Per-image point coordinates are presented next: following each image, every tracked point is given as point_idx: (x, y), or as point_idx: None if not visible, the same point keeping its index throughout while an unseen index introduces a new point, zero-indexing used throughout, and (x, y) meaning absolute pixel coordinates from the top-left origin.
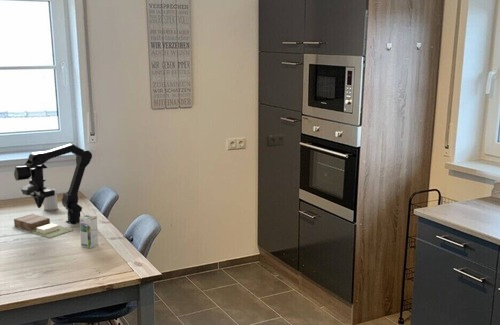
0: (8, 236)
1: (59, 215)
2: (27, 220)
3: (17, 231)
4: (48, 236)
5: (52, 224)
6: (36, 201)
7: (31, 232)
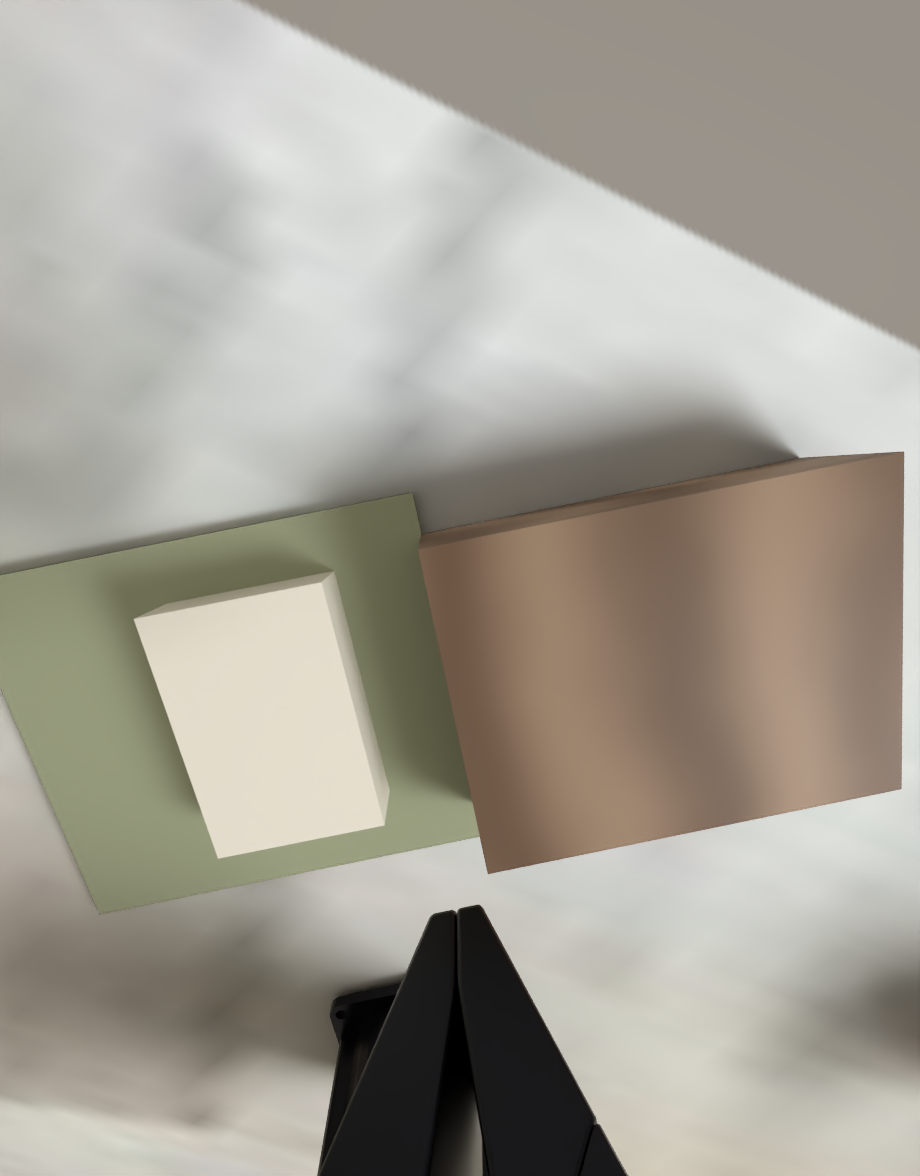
0: (436, 174)
1: (756, 1010)
2: (642, 586)
3: (564, 388)
4: (12, 595)
5: (314, 808)
6: (487, 1171)
7: (354, 504)
